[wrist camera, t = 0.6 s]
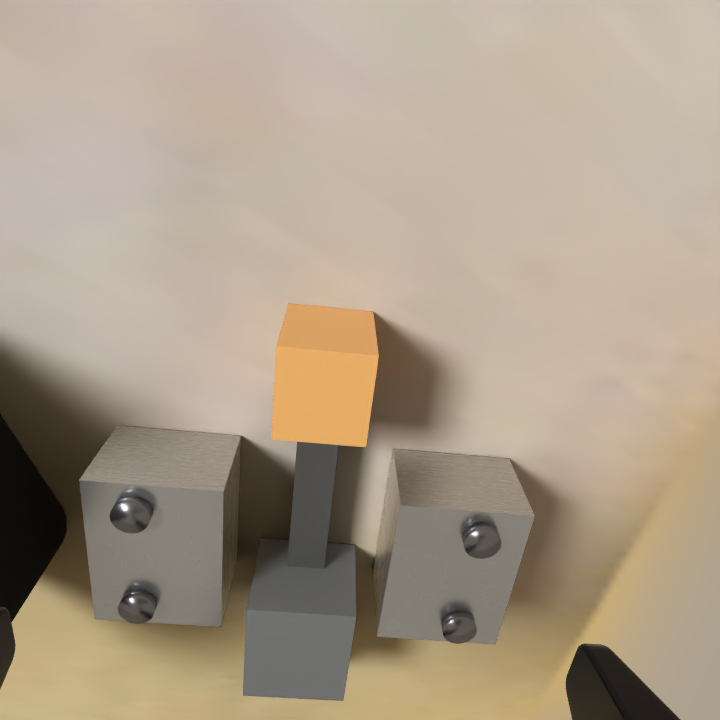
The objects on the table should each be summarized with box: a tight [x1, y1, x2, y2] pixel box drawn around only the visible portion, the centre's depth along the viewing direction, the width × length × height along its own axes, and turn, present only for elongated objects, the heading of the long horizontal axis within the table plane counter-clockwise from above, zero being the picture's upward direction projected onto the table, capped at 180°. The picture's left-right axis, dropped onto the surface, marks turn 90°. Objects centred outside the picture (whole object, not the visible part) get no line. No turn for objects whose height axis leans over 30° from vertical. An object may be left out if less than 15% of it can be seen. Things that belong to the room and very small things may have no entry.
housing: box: [79, 425, 535, 644], centre depth 20 cm, size 6×14×4 cm, turn 84°
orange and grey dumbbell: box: [243, 303, 379, 701], centre depth 20 cm, size 16×4×4 cm, turn 173°
